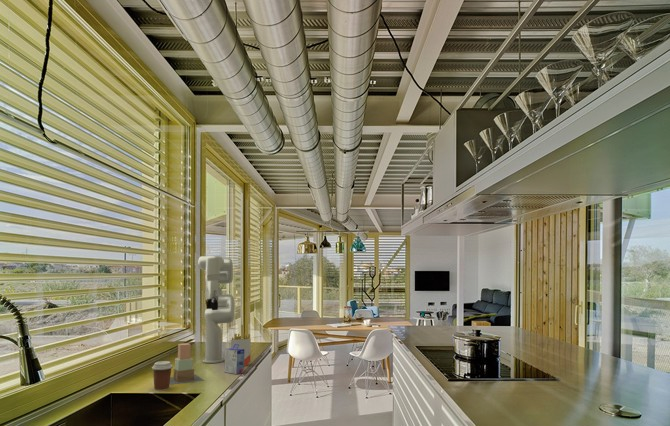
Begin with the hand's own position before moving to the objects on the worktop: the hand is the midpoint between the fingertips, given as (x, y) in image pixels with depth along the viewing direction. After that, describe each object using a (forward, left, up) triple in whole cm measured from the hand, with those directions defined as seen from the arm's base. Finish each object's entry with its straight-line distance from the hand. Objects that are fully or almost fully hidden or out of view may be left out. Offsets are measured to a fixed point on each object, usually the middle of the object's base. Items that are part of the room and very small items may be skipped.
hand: (212, 309), depth 263 cm
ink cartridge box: (+15, +8, -33) cm, 37 cm away
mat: (+17, -19, -32) cm, 41 cm away
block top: (+17, -19, -27) cm, 37 cm away
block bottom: (+17, -19, -32) cm, 41 cm away
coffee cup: (+30, -32, -32) cm, 55 cm away
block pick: (+17, -19, -22) cm, 34 cm away
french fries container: (-1, +17, -32) cm, 37 cm away
